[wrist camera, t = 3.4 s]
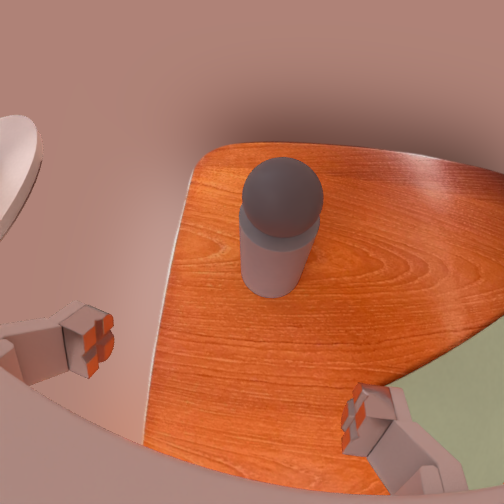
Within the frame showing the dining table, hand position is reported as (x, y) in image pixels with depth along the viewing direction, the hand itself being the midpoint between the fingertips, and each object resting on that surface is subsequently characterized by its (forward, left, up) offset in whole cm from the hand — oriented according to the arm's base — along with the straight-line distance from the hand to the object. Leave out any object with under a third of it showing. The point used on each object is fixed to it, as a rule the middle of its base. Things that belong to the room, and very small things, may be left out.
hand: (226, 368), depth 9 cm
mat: (+19, -12, -14) cm, 26 cm away
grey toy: (+5, +8, -14) cm, 17 cm away
